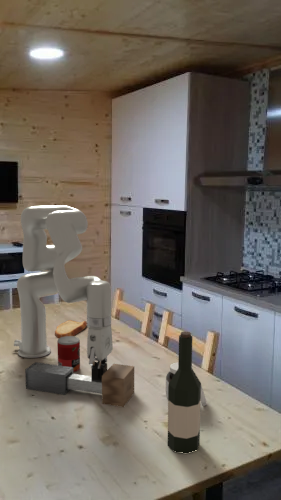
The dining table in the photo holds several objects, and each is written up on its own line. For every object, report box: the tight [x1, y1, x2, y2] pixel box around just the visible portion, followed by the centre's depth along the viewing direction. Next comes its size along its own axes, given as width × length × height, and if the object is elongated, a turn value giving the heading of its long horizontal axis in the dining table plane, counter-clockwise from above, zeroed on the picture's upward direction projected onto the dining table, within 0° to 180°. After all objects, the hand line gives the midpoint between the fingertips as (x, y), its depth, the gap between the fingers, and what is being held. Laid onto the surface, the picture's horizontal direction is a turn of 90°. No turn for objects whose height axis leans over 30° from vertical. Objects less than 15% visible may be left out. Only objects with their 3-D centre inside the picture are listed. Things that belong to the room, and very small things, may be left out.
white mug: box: [165, 361, 208, 407], centre depth 143 cm, size 12×11×12 cm
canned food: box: [56, 336, 81, 373], centre depth 168 cm, size 8×8×11 cm
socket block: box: [101, 363, 135, 408], centre depth 146 cm, size 7×10×9 cm
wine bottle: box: [167, 331, 202, 454], centre depth 119 cm, size 8×8×30 cm
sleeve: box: [25, 361, 74, 396], centre depth 153 cm, size 14×6×7 cm, turn 72°
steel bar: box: [66, 363, 108, 395], centre depth 149 cm, size 20×4×9 cm, turn 72°
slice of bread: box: [54, 319, 87, 339], centre depth 211 cm, size 18×18×4 cm
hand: (99, 376), depth 148 cm, fingers closed on steel bar, 3 cm apart
